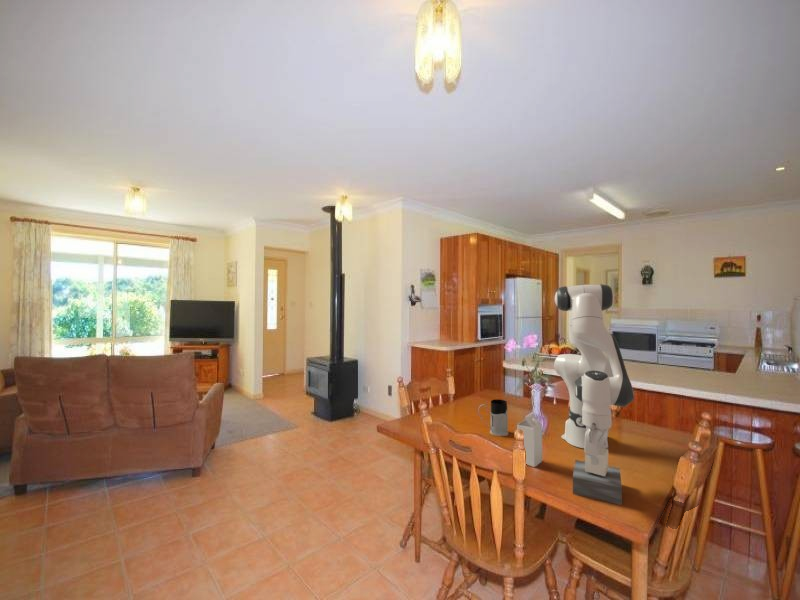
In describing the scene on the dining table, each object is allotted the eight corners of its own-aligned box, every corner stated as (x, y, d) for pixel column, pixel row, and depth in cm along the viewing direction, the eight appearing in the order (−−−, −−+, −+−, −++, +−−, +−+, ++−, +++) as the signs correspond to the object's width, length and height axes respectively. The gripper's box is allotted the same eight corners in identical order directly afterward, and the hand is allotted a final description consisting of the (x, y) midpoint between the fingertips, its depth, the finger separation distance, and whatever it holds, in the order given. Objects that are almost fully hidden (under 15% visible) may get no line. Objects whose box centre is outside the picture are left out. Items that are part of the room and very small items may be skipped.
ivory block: (588, 464, 128) (588, 444, 127) (608, 469, 124) (608, 449, 124) (585, 471, 123) (585, 450, 123) (605, 476, 119) (605, 455, 119)
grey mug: (511, 436, 169) (510, 404, 169) (480, 436, 169) (480, 405, 169) (505, 428, 178) (505, 398, 178) (476, 429, 178) (476, 399, 178)
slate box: (575, 475, 133) (575, 459, 133) (619, 485, 126) (619, 468, 126) (572, 494, 121) (572, 477, 121) (621, 506, 114) (621, 487, 114)
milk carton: (517, 461, 144) (516, 414, 143) (525, 455, 149) (525, 410, 148) (534, 467, 139) (533, 418, 138) (542, 461, 144) (541, 414, 143)
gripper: (601, 431, 113) (601, 474, 113) (612, 413, 129) (612, 451, 129) (579, 426, 117) (579, 468, 117) (592, 410, 133) (592, 447, 133)
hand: (596, 459), depth 123 cm, fingers open, 6 cm apart
